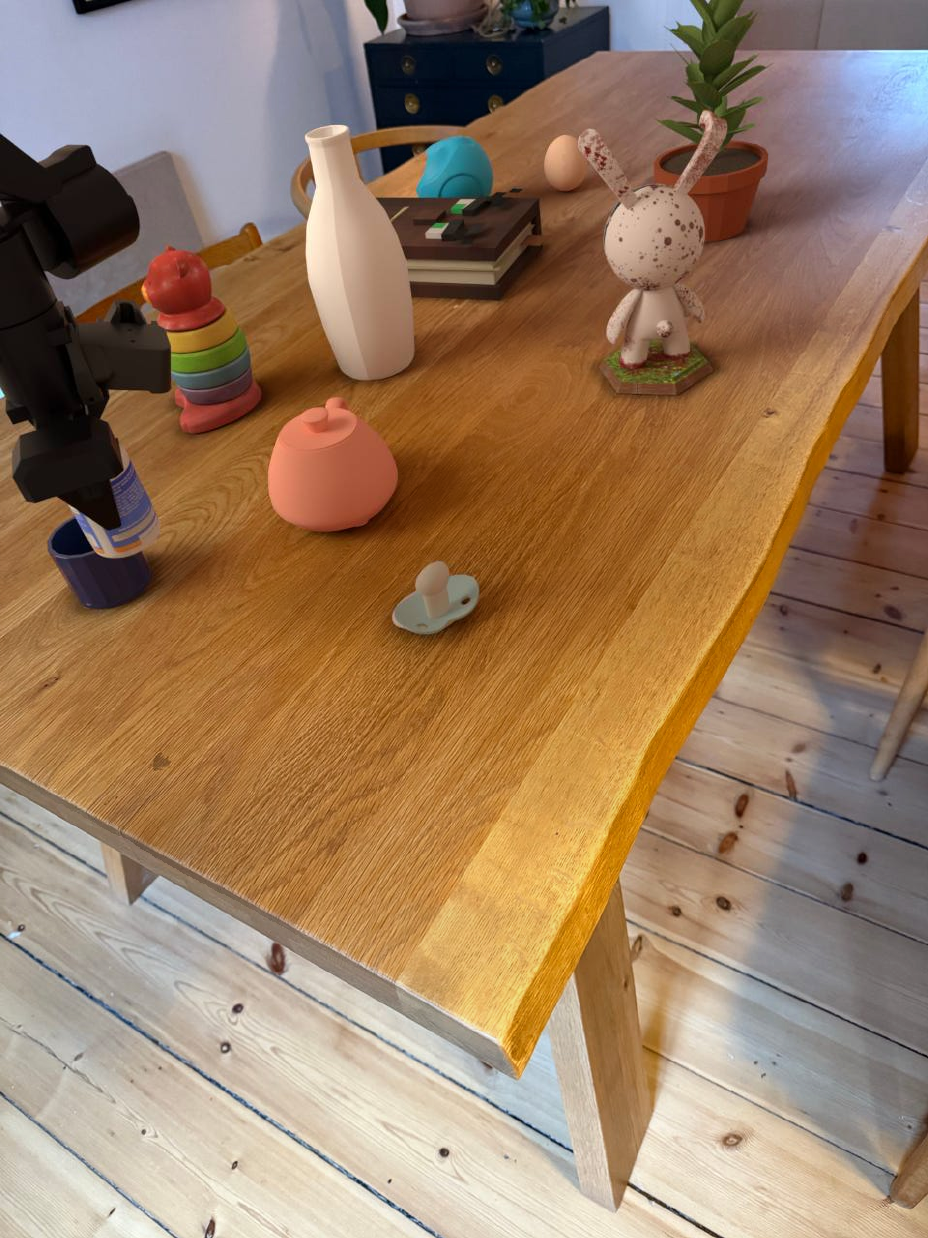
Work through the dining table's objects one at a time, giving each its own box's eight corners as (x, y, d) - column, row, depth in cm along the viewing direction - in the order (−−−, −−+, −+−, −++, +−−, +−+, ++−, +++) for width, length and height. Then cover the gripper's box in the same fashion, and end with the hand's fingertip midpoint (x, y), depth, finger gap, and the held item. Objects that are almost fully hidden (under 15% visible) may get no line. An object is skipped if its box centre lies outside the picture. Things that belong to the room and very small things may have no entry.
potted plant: (628, 238, 124) (624, -24, 103) (696, 201, 130) (706, -53, 110) (718, 259, 115) (733, -23, 94) (786, 218, 121) (815, -55, 101)
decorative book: (364, 188, 131) (558, 187, 120) (375, 240, 137) (561, 244, 125) (298, 240, 119) (507, 245, 108) (313, 295, 124) (513, 305, 113)
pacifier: (378, 619, 74) (418, 655, 70) (361, 561, 70) (402, 595, 66) (449, 578, 76) (491, 610, 73) (436, 519, 72) (480, 549, 68)
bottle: (313, 371, 108) (250, 143, 90) (382, 333, 113) (334, 109, 95) (373, 396, 101) (317, 155, 84) (442, 354, 106) (403, 119, 89)
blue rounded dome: (438, 205, 144) (426, 126, 136) (506, 203, 140) (498, 122, 132) (412, 234, 136) (398, 152, 128) (484, 233, 132) (473, 149, 124)
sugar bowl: (262, 547, 83) (227, 454, 76) (302, 462, 93) (274, 372, 86) (389, 544, 81) (365, 448, 74) (416, 457, 91) (397, 365, 84)
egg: (592, 181, 142) (590, 127, 137) (583, 196, 138) (580, 141, 132) (551, 183, 144) (547, 129, 139) (541, 198, 140) (537, 143, 134)
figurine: (692, 331, 102) (702, 84, 85) (739, 380, 93) (761, 115, 76) (572, 359, 101) (558, 115, 84) (608, 411, 92) (600, 150, 75)
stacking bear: (174, 396, 108) (115, 249, 96) (256, 373, 109) (208, 225, 97) (183, 438, 100) (120, 283, 88) (271, 413, 102) (220, 257, 90)
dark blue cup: (79, 619, 79) (49, 568, 75) (74, 575, 84) (45, 524, 80) (157, 592, 80) (131, 540, 76) (147, 550, 85) (122, 499, 81)
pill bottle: (172, 516, 71) (123, 408, 64) (147, 559, 67) (93, 450, 60) (110, 518, 72) (55, 412, 65) (82, 562, 68) (21, 454, 61)
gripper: (153, 328, 52) (237, 539, 62) (123, 233, 65) (196, 420, 76) (-44, 386, 50) (77, 593, 60) (-34, 276, 63) (64, 462, 74)
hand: (111, 508), depth 67 cm, fingers closed on pill bottle, 5 cm apart
